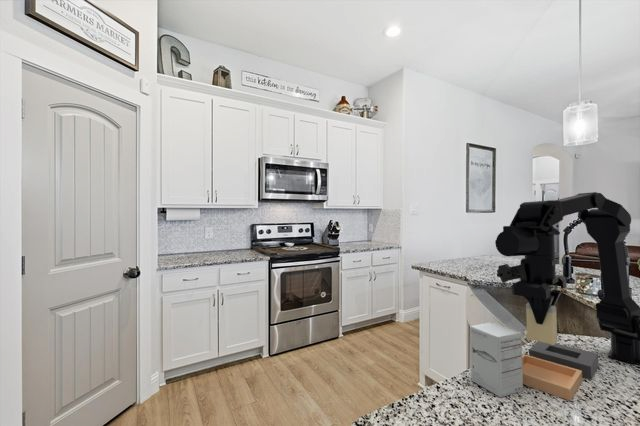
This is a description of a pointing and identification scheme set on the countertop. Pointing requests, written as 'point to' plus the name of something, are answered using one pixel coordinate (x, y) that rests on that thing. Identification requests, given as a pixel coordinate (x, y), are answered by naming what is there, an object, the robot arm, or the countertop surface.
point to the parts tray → (550, 377)
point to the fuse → (542, 326)
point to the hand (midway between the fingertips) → (541, 322)
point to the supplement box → (496, 358)
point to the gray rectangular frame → (567, 357)
